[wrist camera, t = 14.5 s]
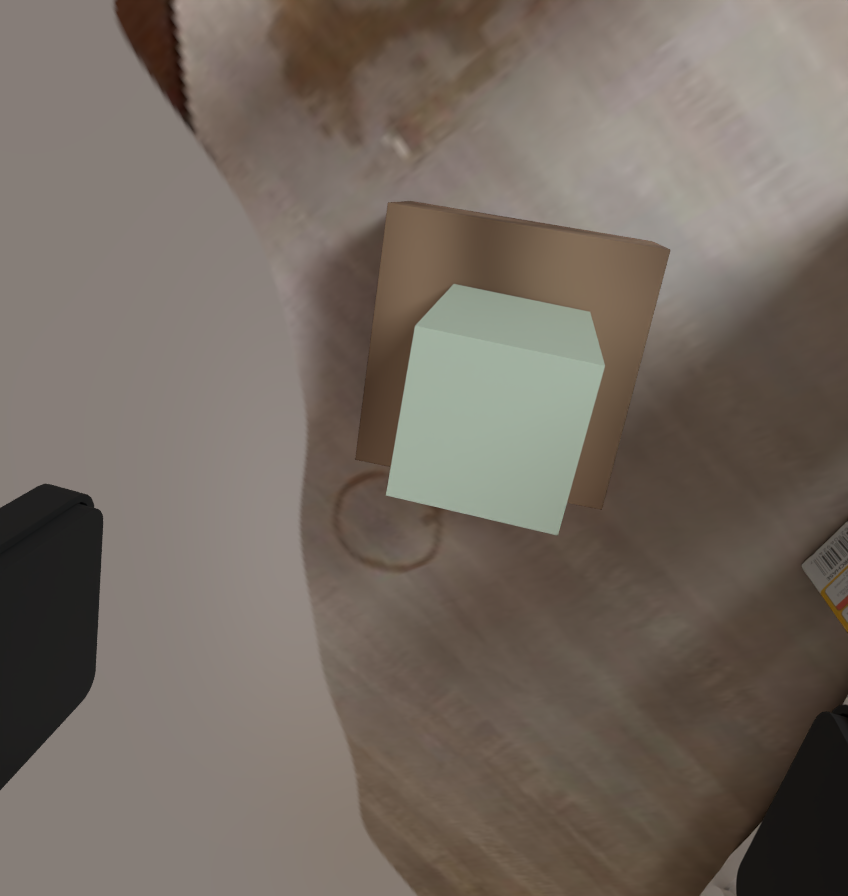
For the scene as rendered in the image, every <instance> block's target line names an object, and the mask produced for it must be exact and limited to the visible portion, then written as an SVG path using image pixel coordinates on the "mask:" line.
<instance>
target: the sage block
mask: <svg viewBox="0 0 848 896" xmlns="http://www.w3.org/2000/svg"><path fill="white" fill-rule="evenodd" d="M604 368H605V364H604V360H603V357H602V353H601V349H600V346H599V342H598V338H597V335H596V331H595V328H594V324H593V320H592V317H591V313H590V312H589V311H584V310H579V309H574V308H569V307H564V306H559V305H555V304H550V303H545V302H540V301H535V300H530V299H525V298H520V297H515V296H511V295H506V294H501V293H496V292H491V291H486V290H481V289H476V288H472V287H467V286H462V285H457V284H453V285H452V286H451V287H450V289H449V290H448V291H447V292H446V293H445V294H444V295H443V296H442V297H441V298H440V299H439V300H438V301H437V303H436V304H435V305H434V306H433V307H432V308H431V309H430V310H429V311H428V312H427V313H426V314H425V316H424V317H423V318H422V319H421V320H420V321H419V322H418V323H417V324H416V325H415V329H414V335H413V341H412V346H411V352H410V358H409V364H408V370H407V375H406V381H405V387H404V393H403V399H402V405H401V410H400V416H399V422H398V428H397V434H396V439H395V445H394V451H393V457H392V463H391V469H390V474H389V480H388V486H387V492H386V495H387V496H391V497H395V498H399V499H404V500H408V501H412V502H417V503H421V504H425V505H429V506H434V507H438V508H442V509H446V510H451V511H455V512H459V513H463V514H468V515H472V516H476V517H481V518H485V519H489V520H493V521H498V522H502V523H506V524H510V525H515V526H519V527H523V528H527V529H532V530H536V531H540V532H545V533H549V534H553V535H557V536H558V533H559V529H560V526H561V522H562V519H563V515H564V512H565V508H566V504H567V501H568V497H569V494H570V490H571V486H572V483H573V479H574V476H575V472H576V468H577V465H578V461H579V458H580V454H581V450H582V447H583V443H584V440H585V436H586V433H587V429H588V425H589V422H590V418H591V415H592V411H593V407H594V404H595V400H596V397H597V393H598V389H599V386H600V382H601V379H602V375H603V371H604Z"/></svg>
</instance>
